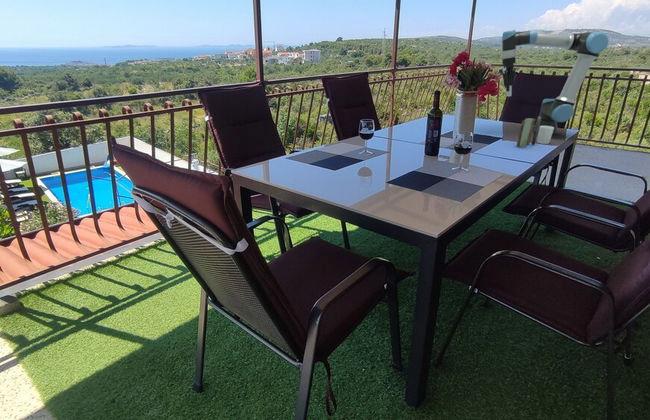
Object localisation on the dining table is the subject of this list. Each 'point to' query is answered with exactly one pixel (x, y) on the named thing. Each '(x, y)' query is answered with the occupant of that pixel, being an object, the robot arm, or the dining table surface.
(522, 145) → the frame
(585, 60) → the robot arm
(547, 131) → the white cup
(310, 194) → the dining table surface
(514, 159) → the dining table surface
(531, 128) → the brown green flat panel
